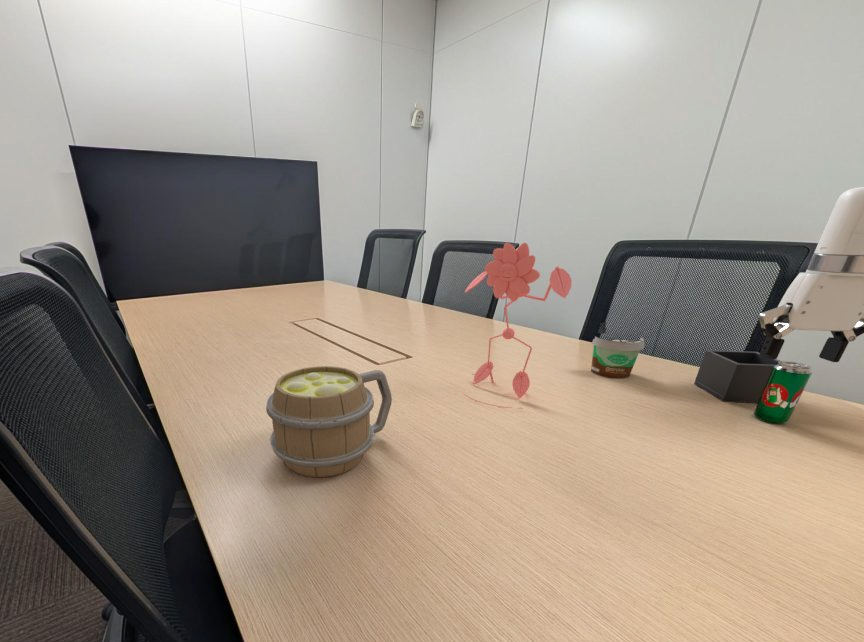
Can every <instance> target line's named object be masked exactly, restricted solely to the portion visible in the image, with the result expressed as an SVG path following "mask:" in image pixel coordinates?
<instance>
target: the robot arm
mask: <svg viewBox="0 0 864 642" xmlns="http://www.w3.org/2000/svg"><path fill="white" fill-rule="evenodd" d="M758 320H759V324H760V325H759V328H760V329H761V331H762V332H763V335H764V336H765V339H764V341H763V343H762V346H761V348H760V352H759V353H760V355H761V356H764V357H766V358H769V359H777V360H778V357H779V354H780V352H781V350H782V348H783V346H784V344H785V339H784V337H786V335H789V334H790V333H791V332H793V331H794V330H795V331H797V330H798V331H818V332H830V333H831V335H832V336H833V337H830V336H829V337H828V338H827V339H826V341H825V343H824V345H823V346H822V349H821V351H820V352H819V354H818V357H819V358H820V359H823V360H825V361H829V362H831V363H840V361H841V358H842V356H843V354H844V353H845V351H846V349H847V347H848V345H849V343H852V342H854V341H856V339H857V338H858V337H859V336H862V335H863V334H864V186H860V187H854V188H853V187H852V188H850V189H848V190H845V191H844V192H843V193H841V194H840V195H839V197H838V199H837V200H836V202H835V205H834V207H833V209H832V211H831V213H830V216H829V218H828V221H827V223H826V225H825V227H824V229H823V232H822V234H821V236H820V239H819V241H818V243H817V245H816V248H815V250H814V252H813V254H812V257H811V259H810V261H809V264H808V266H807V268H806V270H805V272H799V273H798V274H797V275H796V277H795V278H794V279H793V281H792V282H791V284H790V285H789V286H788V287H787V289H786V291H785V293H784V295H783V296H782V298H781V300H780V302H779V304H778V305H777V307H775V308H774V307H773V308H771V309H769V310H765V311H763V312H760V313H759V314H758Z"/></svg>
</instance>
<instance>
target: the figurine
mask: <svg viewBox="0 0 864 642" xmlns="http://www.w3.org/2000/svg"><path fill="white" fill-rule="evenodd" d="M492 255H493V256H492V257H493V259H494V260H492V261H490V262H488V263H487V264H486V265H485V266H484V271H483V272H481V273H479V275H476V277H475V278H474V279H473V280H472V281H471V282H470V283H469V284H468V285H467V287H466V289H465V290H464V293H465V294H466V293H468V292H469V291H471V290H472V289H474V288H475V287H476V286H478V285H479V284H481V282H482V281H484V279H485V278H486V277H487V279H486V284H487V286H488V287H493V290H492V291H493V296H494V297H495V299H500V300H504V299H509V300H510V301H509V302H508V303H506V304H505V305H504V307H503V310H504V311H503V312H504V316H505V317H504V318H505V324H506V328H505V329H503V330H502V332H501V334H499V335H495V336H492V337H490V338H489V340H488V354H487V358H488V359H487V361H486V362H485V363H482V364H481V365H480V367H478V368H477V370H476V372H475V373H473V374H471V376H472V375H474V377H473V382H472V384H473V385H476V384H478V383H480V382H484V381H485V380H486V379H487V378H488V377H490V381H491V383H494V377H493V370H494V363H493V362H492V361H490V358H491V346H492V345H491V343H492V340H493V339H496V338H499V337H502V338H503V339H505V340H511V339H514V340H516V341H518V342H519V343H521V344H522V345H525V346H526V347H528V348H529V352H528V354H527V357H526V359H525V363H524V366H523V369H522V371H521V370H520V371H518V372H516V373H515V375H514V377H513V379H512V383H511V385H512V389H513V391H514V393H515V395H516V396H517V397H518V399H521V398H523V396H524V395H525V394H526V393H527V392H528V390H529V387H530V385H531V380H530V378H529V375H528V373H527V372H525V371H526V367H527V364H528V362H529V359H530V356H531V353H532V350H533V347H532V346H531V345H530V344H528V343H526V342H525V341H523V340H520V339H519V338H517V337H516V336H515V333H516V332H515V329H513V328H511V327H510V326H509V325H510V324H509V316H508V310H507V308H508V307H509V306H510V305H512V304H513V303H514V302H517V300H518V299H520V298H522V297H523V298H529V299H533V300H538V301H542V302H546V300H547V299H548V296H549V293H550V292H551V289H552V290H553V292H554V293H556V294H557V295H559V296H560V297H561V298H564V299H566V297H567V296H568V295H569V292H570V290H571V289H572V278H571V275H570V274H569V273H568V272H567V271H566V270H565V269H564V268H561V267H560V266H555V267H554V269H553V270H552V271H551V273H550V277H549V285H548V287H547V289H546V291H545V294H544V297H539V296H535V295H530V291H531V289H530V287H531V286H530V285H529V284H532V283H535V282H536V281H537V280H538V279H539V278H540V277H541V275H540V274H541V273H540V271H538V270H537V269H534V266H535V263H536V256H535V255H534V254H532V255H530V247H529V245H528V243H527V242H522V243H521V244H520V245H519V246H518V247H517V248H515V246H514V245H513V244H511V243H509V242H505V243H504V244H503V248H502V247H500V248H499V247H497V248H494V250H493V251H492ZM504 294H505V295H504ZM463 395H464V396H465V397H466V398H469V399H471V400H473V401H474V402H475V403H479V404H484V405H488V406H493V407H497V408H499V409H511V406H510V407H509V406H500V405H495V404H490V403H486V402H482V401H480V400H477V399H474V398H471V397H470V396H468V395H466V394H465V393H463ZM521 409H524V408H523V407H519V410H521Z"/></svg>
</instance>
